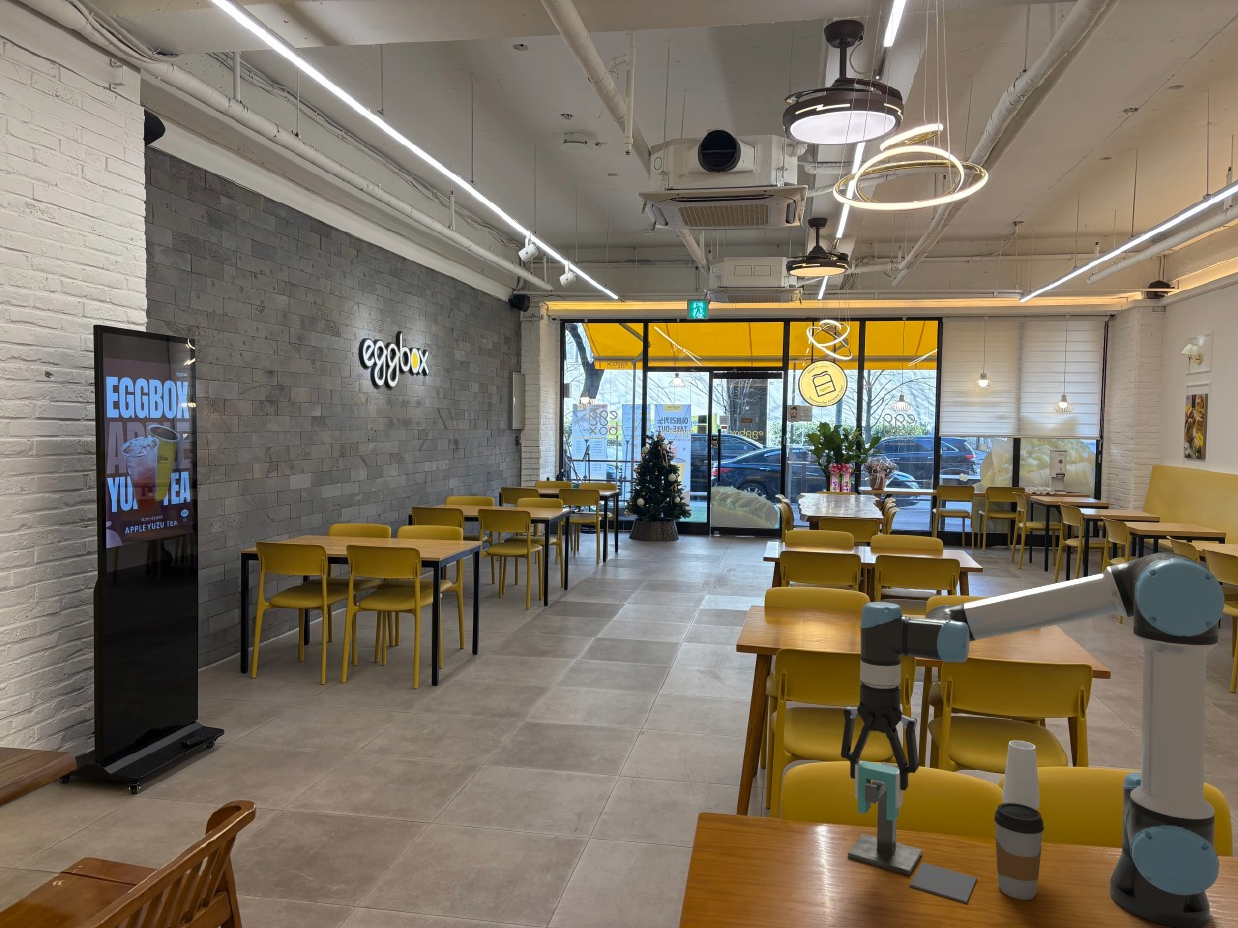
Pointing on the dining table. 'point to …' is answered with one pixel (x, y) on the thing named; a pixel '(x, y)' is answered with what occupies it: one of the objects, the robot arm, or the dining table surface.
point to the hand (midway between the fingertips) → (878, 800)
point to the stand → (884, 837)
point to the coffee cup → (1018, 849)
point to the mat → (943, 882)
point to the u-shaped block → (882, 774)
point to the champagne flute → (1021, 775)
